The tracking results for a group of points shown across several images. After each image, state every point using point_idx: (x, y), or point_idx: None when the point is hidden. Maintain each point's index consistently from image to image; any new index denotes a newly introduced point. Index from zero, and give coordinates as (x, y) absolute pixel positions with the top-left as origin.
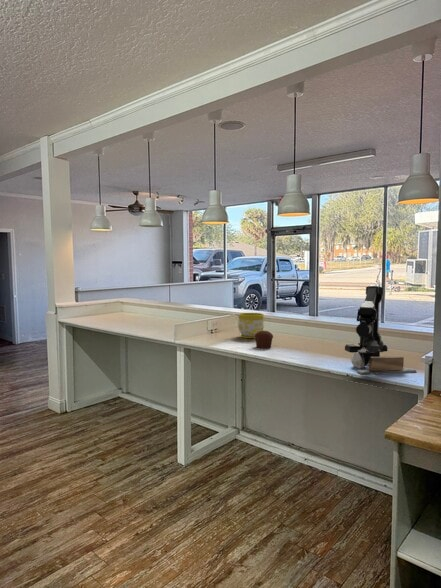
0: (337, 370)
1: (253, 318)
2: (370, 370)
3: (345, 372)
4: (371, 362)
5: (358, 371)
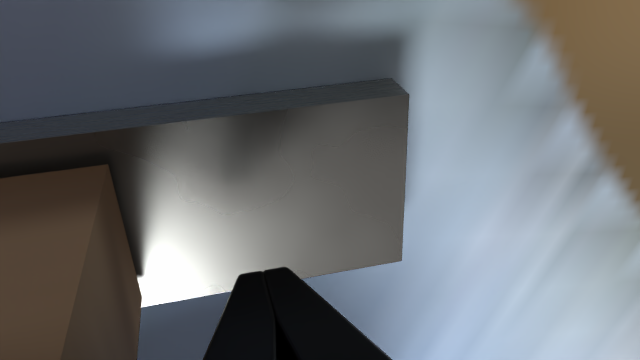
0: (611, 323)
1: None
2: None
3: (575, 225)
4: (80, 353)
5: (400, 199)
